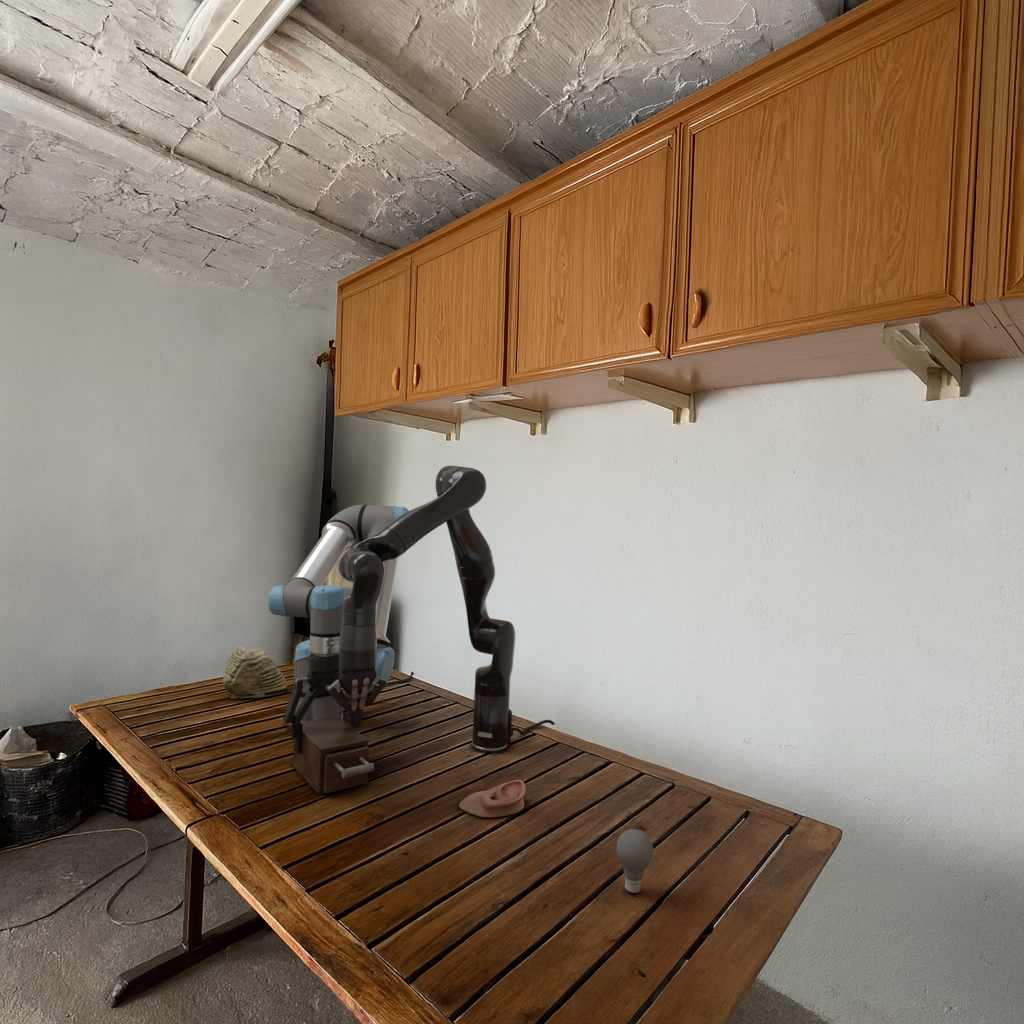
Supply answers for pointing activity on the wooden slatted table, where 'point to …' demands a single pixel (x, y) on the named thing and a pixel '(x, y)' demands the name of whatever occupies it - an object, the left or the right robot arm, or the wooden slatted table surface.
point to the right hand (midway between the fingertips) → (355, 726)
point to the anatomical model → (496, 800)
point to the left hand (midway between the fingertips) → (322, 746)
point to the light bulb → (634, 857)
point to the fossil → (252, 674)
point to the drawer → (346, 768)
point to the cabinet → (323, 747)
